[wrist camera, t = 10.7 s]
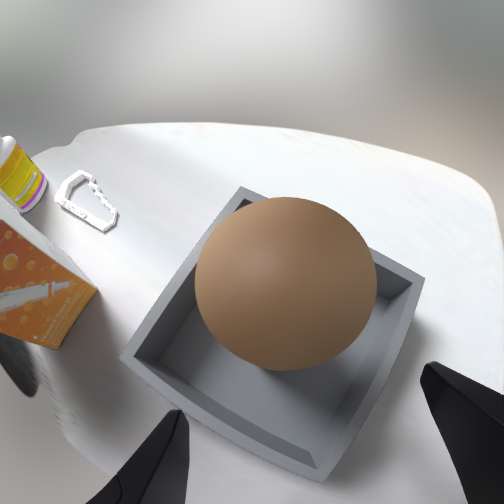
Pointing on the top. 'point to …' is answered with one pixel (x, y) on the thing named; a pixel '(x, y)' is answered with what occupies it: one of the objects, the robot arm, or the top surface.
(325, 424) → the grey tote
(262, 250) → the brown cylinder
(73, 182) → the saw cookie cutter
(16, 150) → the supplement bottle
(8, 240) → the small box
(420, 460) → the top surface
